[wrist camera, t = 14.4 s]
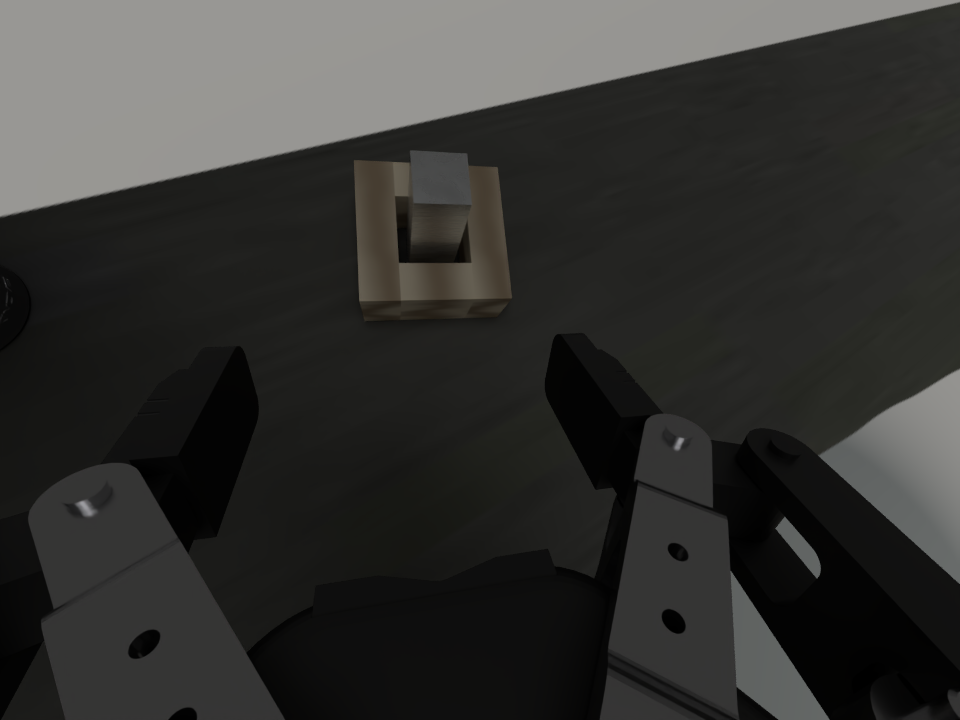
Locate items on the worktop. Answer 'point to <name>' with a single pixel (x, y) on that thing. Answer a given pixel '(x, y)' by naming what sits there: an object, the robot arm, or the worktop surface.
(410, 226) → the grey square pillar
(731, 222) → the worktop surface
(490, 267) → the well block
